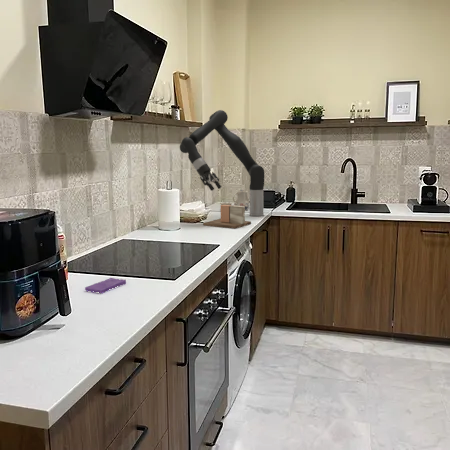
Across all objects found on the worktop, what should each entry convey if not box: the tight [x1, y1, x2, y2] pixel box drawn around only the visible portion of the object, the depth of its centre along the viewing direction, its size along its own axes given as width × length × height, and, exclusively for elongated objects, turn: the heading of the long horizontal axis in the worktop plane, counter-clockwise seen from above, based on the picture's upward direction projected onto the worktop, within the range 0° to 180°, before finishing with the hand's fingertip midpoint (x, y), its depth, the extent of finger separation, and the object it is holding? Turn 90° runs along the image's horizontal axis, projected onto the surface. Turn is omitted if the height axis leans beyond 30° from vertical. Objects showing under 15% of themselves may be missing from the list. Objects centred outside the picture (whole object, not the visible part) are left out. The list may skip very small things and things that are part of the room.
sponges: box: [84, 277, 127, 294], centre depth 157 cm, size 7×13×2 cm, turn 151°
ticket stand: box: [203, 204, 252, 230], centre depth 273 cm, size 18×22×12 cm
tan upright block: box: [220, 204, 233, 223], centre depth 273 cm, size 4×6×10 cm, turn 57°
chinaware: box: [219, 187, 250, 211], centre depth 334 cm, size 28×17×17 cm, turn 134°
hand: (216, 189), depth 274 cm, fingers open, 8 cm apart
